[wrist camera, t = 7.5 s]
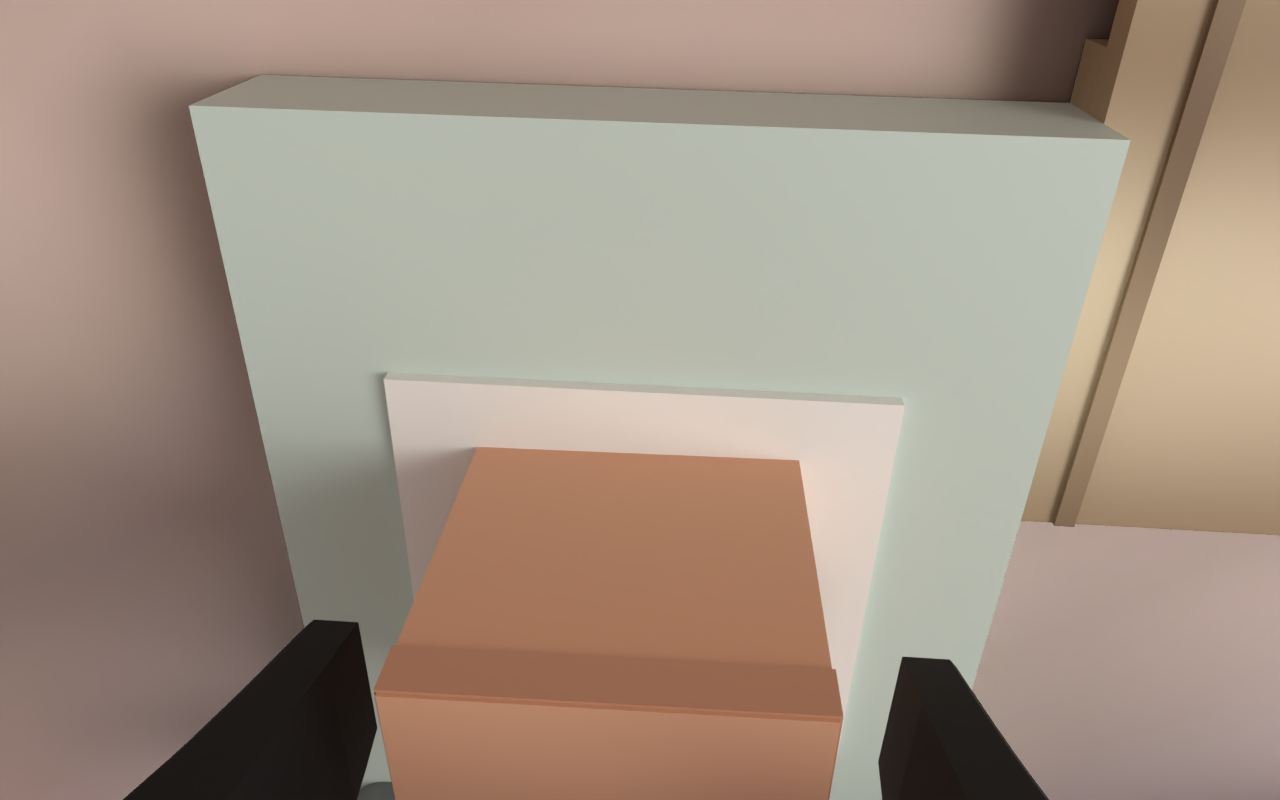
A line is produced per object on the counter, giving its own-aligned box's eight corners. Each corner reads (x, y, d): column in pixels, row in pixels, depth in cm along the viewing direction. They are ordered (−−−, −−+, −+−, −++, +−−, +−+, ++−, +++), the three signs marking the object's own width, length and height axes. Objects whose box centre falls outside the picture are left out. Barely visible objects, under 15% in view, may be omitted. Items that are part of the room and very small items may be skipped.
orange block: (774, 692, 15) (798, 984, 11) (497, 676, 15) (424, 956, 11) (800, 458, 12) (844, 720, 9) (475, 444, 13) (372, 693, 9)
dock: (897, 789, 19) (954, 1057, 15) (382, 753, 19) (289, 1001, 15) (1070, 102, 12) (1273, 227, 8) (260, 75, 13) (23, 176, 8)
